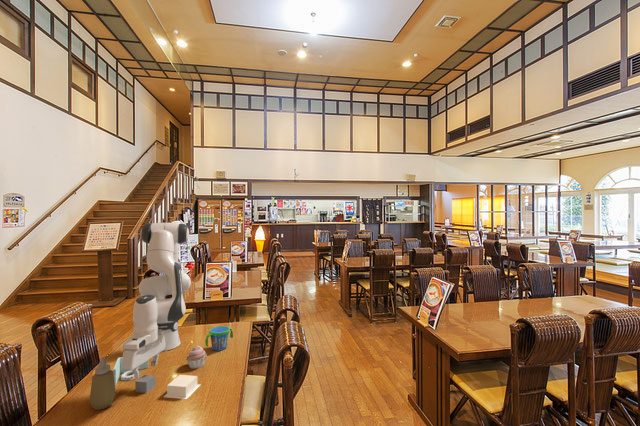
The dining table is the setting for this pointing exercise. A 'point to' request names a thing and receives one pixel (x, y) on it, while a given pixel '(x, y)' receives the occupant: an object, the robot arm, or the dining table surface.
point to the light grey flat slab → (182, 397)
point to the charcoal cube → (145, 383)
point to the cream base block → (182, 386)
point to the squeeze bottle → (102, 386)
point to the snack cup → (219, 337)
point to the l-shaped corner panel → (125, 371)
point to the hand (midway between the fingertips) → (146, 370)
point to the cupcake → (196, 357)
